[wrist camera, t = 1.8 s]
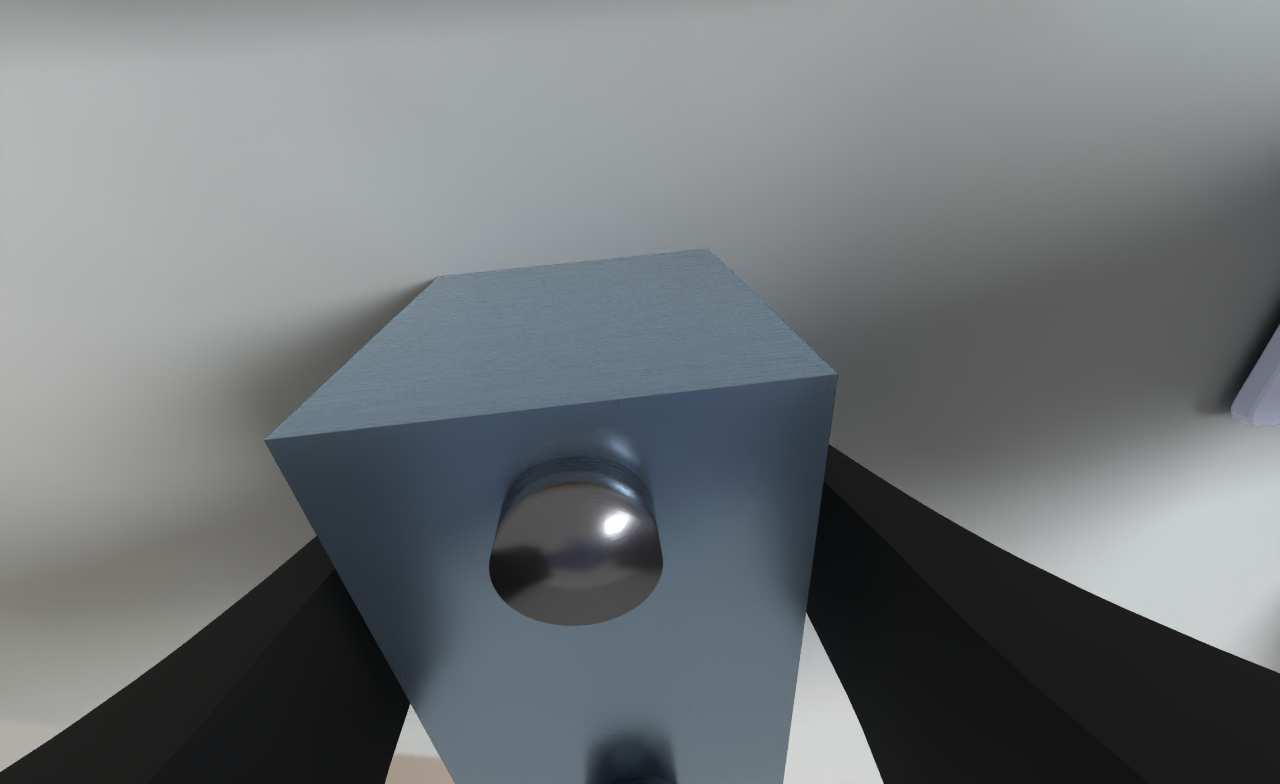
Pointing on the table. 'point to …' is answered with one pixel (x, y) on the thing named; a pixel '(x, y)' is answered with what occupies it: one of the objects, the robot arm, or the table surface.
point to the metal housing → (579, 517)
